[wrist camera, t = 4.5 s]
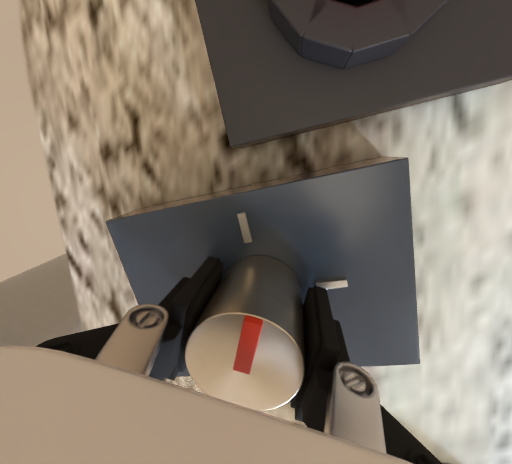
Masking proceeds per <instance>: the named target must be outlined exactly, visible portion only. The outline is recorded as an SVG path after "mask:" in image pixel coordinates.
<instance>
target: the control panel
mask: <svg viewBox="0 0 512 464" xmlns="http://www.w3.org/2000/svg"><path fill="white" fill-rule="evenodd" d="M106 224H107V227H108V229H109V232H110V234H111V237H112V239H113V242H114V244H115V247H116V249H117V252H118V254H119V257H120V259H121V262H122V264H123V267H124V269H125V272H126V274H127V277H128V279H129V282H130V284H131V287H132V289H133V292H134V294H135V297H136V299H137V302H138V304H139V305H141V304H156V305H158V304H159V303H160V302H161V301H162V300H163V299H164V298H165V297H166V295H167V294H168V293H169V292H170V291H171V290H172V289H173V288H174V287H175V285H176V284H177V283H178V282H179V281H180V280H181V279H182V278H183V277H188V278H191V277H192V276H193V275H194V273H195V272H196V271H197V270H198V269H199V267H200V266H201V265H202V264H203V263H204V261H205V260H206V259H207V258H208V257H209V256H211V257H215V258H219V259H220V260H221V261H220V262H222V263H224V266H223V271H222V276H221V280H222V278H223V277H224V275H225V273H226V272H227V270H228V269H229V268H230V267H231V266H232V265H233V264H234V263H236V262H237V261H239V260H241V259H243V258H246V257H250V256H267V257H271V258H274V259H277V260H279V261H281V262H282V263H284V264H285V265H287V266H288V267H289V268H290V269H291V270H292V271H293V272H294V273H295V275H296V276H297V278H298V280H299V282H300V285H301V289H302V305H303V303H304V300H305V297H306V294H307V291H308V288H309V287H311V288H313V286H314V285H315V286H319V287H322V288H326V289H327V293H328V298H329V302H330V307H331V311H332V315H333V319H334V320H338V321H339V322H340V324H341V328H342V332H343V336H344V340H345V344H346V347H347V351H348V355H349V359H350V362H351V363H354V364H356V365H358V366H360V367H369V366H388V365H407V364H420V353H419V336H418V318H417V301H416V284H415V266H414V249H413V231H412V214H411V197H410V179H409V162H408V158H404V157H378V158H373V159H369V160H364V161H359V162H355V163H350V164H345V165H341V166H336V167H331V168H327V169H322V170H317V171H313V172H308V173H304V174H299V175H294V176H290V177H285V178H280V179H276V180H271V181H266V182H262V183H257V184H253V185H248V186H243V187H239V188H234V189H229V190H225V191H220V192H215V193H211V194H206V195H201V196H197V197H192V198H188V199H183V200H178V201H174V202H169V203H164V204H160V205H155V206H150V207H146V208H141V209H138V210H135V211H132V212H130V213H127V214H124V215H121V216H118V217H116V218H113V219H110V220H107V221H106ZM221 280H220V282H221ZM180 376H190V374H189V371H188V369H187V366H186V368H185V370H184V372H183V373H182V372H178V374H177V376H176V377H180Z"/></svg>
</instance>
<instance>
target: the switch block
mask: <svg viewBox="0 0 512 464" xmlns="http://www.w3.org/2000/svg"><path fill="white" fill-rule="evenodd" d="M195 2H196V6H197V10H198V14H199V19H200V23H201V27H202V31H203V35H204V39H205V44H206V48H207V52H208V56H209V60H210V64H211V69H212V73H213V77H214V81H215V85H216V89H217V93H218V98H219V102H220V106H221V110H222V114H223V118H224V123H225V127H226V131H227V135H228V139H229V143H230V147H235V148H243V147H247V146H251V145H255V144H259V143H263V142H267V141H271V140H275V139H279V138H283V137H287V136H291V135H295V134H299V133H303V132H307V131H311V130H315V129H319V128H323V127H327V126H331V125H335V124H339V123H343V122H347V121H351V120H355V119H359V118H363V117H367V116H372V115H376V114H380V113H384V112H388V111H392V110H396V109H400V108H404V107H408V106H412V105H416V104H420V103H424V102H428V101H432V100H436V99H440V98H444V97H448V96H452V95H456V94H460V93H464V92H468V91H472V90H476V89H480V88H484V87H488V86H492V85H496V84H500V83H503V82H506V81H509V80H512V0H195Z"/></svg>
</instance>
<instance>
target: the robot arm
mask: <svg viewBox="0 0 512 464" xmlns="http://www.w3.org/2000/svg"><path fill="white" fill-rule="evenodd" d="M220 261H221V260H220V259H219V258H215V257H211V256H209V257H208V258H207V259H206V260H205V261H204V263H203V264H202V265H201V266H200V267H199V269H198V270H197V271H196V272H195V273H194V275H193V276H192V277H191V278H188V277H183V278H182V279H181V280H180V281H179V282H178V283H177V284H176V285H175V287H174V288H173V289H172V290H171V291H170V292H169V293H168V294H167V295H166V297H165V298H164V299H163V300H162V301H161V302H160V303H159V304H158V305H156V304H141V305H138V306H135V307H134V308H132V309H130V310H129V311H128V312H127V313H126V315H125V316H124V317H123V319H122V320H121V322H120V323H119V324H114V325H110V326H106V327H101V328H97V329H92V330H88V331H84V332H79V333H75V334H70V335H66V336H62V337H57V338H54V339H50V340H47V341H45V342H43V343H41V344H39V345H37V346H36V347H31V346H0V464H442V463H441V462H440V461H439V460H438V459H437V458H436V457H435V456H434V455H433V454H432V453H431V452H430V451H429V450H427V449H426V448H425V447H424V446H423V445H422V444H421V443H420V442H419V441H418V440H417V439H416V438H415V437H414V436H413V435H412V434H411V433H410V432H409V431H408V430H407V429H406V428H404V427H403V426H402V425H401V424H400V423H399V422H398V421H397V420H396V419H395V418H394V417H393V416H392V415H391V414H390V413H389V412H388V411H387V410H386V409H385V408H384V407H382V406H381V405H380V400H379V393H378V388H377V385H376V383H375V381H374V379H373V378H372V377H371V376H370V374H369V373H368V372H367V371H365V370H364V369H363V368H361V367H360V366H358V365H356V364H354V363H351V362H350V359H349V355H348V351H347V347H346V344H345V340H344V336H343V332H342V328H341V324H340V322H339V321H338V320H334V319H333V315H332V311H331V307H330V302H329V298H328V293H327V289H326V288H322V287H319V286H315V285H314V286H313V288H311V287H309V288H308V291H307V294H306V297H305V300H304V303H303V327H304V349H305V377H304V381H303V384H302V386H301V388H300V390H299V391H298V393H297V394H296V395H295V396H294V397H293V398H292V399H291V407H292V408H295V419H296V420H299V421H302V422H304V423H305V424H306V426H307V427H305V426H302V425H299V424H296V423H293V422H290V421H287V420H284V419H281V418H278V417H274V416H271V415H268V414H265V413H262V412H259V411H256V410H253V409H250V408H247V407H243V406H240V405H237V404H234V403H231V402H228V401H225V400H222V399H219V398H215V397H212V396H209V395H206V394H203V393H200V392H197V391H194V390H190V389H187V388H184V387H181V386H178V385H174V384H171V383H168V382H165V381H162V380H163V379H166V378H168V379H171V380H175V378H176V376H177V374H178V372H182V373H183V372H184V370H185V368H186V362H185V346H186V342H187V339H188V337H189V335H190V333H191V331H192V330H193V328H194V326H195V325H196V323H197V321H198V319H199V318H200V316H201V314H202V313H203V311H204V309H205V307H206V306H207V304H208V302H209V301H210V299H211V297H212V295H213V294H214V292H215V290H216V289H217V287H218V285H219V283H220V280H221V276H222V271H223V266H224V263H222V262H220Z"/></svg>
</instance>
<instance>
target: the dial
mask: <svg viewBox="0 0 512 464" xmlns="http://www.w3.org/2000/svg"><path fill="white" fill-rule="evenodd" d="M185 362H186V366H187V369H188V371H189V374H190V376H191V377H192V379H193V381H194V382H195V383H196V385H197V386H198V387H199V388H200V389H201V390H202V391H203V392H204V393H205V394H207V395H209V396H212V397H215V398H219V399H222V400H225V401H228V402H231V403H234V404H237V405H240V406H243V407H247V408H250V409H253V410H256V411H266V410H271V409H274V408H277V407H280V406H282V405H284V404H285V403H287V402H288V401H290V400H291V399H292V398H293V397H294V396H295V395H296V394H297V393H298V391H299V390H300V388H301V386H302V384H303V381H304V377H305V349H304V327H303V305H302V289H301V285H300V282H299V280H298V278H297V276H296V275H295V273H294V272H293V271H292V270H291V269H290V268H289V267H288V266H287V265H285V264H284V263H282V262H281V261H279V260H277V259H274V258H271V257H267V256H250V257H246V258H243V259H241V260H239V261H237V262H236V263H234V264H233V265H232V266H231V267H230V268H229V269H228V270H227V272H226V273H225V275H224V277H223V278H222V280H221V282H220V283H219V285H218V287H217V289H216V290H215V292H214V294H213V295H212V297H211V299H210V301H209V302H208V304H207V306H206V307H205V309H204V311H203V313H202V314H201V316H200V318H199V319H198V321H197V323H196V325H195V326H194V328H193V330H192V331H191V333H190V335H189V337H188V339H187V342H186V346H185Z"/></svg>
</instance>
